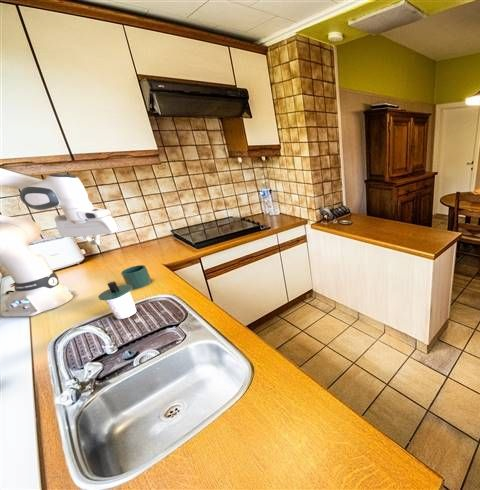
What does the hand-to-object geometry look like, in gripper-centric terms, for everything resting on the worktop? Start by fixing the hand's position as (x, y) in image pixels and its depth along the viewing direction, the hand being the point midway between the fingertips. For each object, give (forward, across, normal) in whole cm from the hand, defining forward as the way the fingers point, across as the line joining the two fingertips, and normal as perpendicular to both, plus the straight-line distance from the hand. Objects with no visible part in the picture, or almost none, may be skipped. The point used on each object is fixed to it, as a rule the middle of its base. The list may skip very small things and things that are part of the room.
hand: (95, 244), depth 115 cm
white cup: (+27, +13, -16) cm, 34 cm away
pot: (+27, +2, +10) cm, 29 cm away
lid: (+16, +13, -16) cm, 26 cm away
